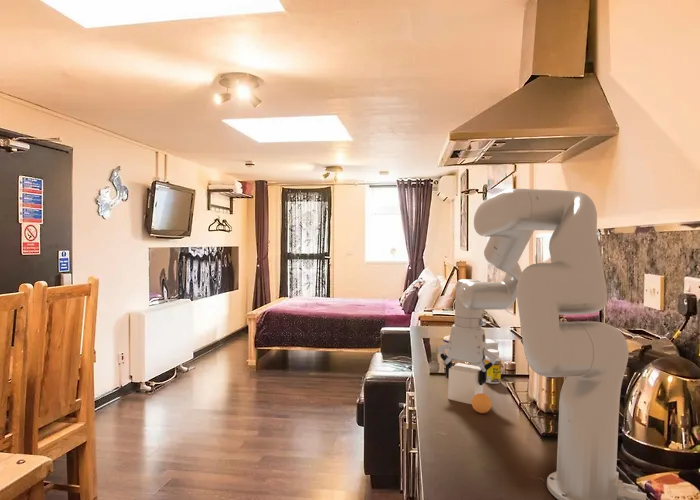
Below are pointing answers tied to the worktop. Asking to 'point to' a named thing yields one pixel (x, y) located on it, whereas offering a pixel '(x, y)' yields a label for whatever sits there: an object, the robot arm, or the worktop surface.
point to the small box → (489, 347)
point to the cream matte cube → (464, 382)
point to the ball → (481, 403)
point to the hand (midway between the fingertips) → (465, 380)
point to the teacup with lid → (446, 341)
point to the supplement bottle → (494, 368)
